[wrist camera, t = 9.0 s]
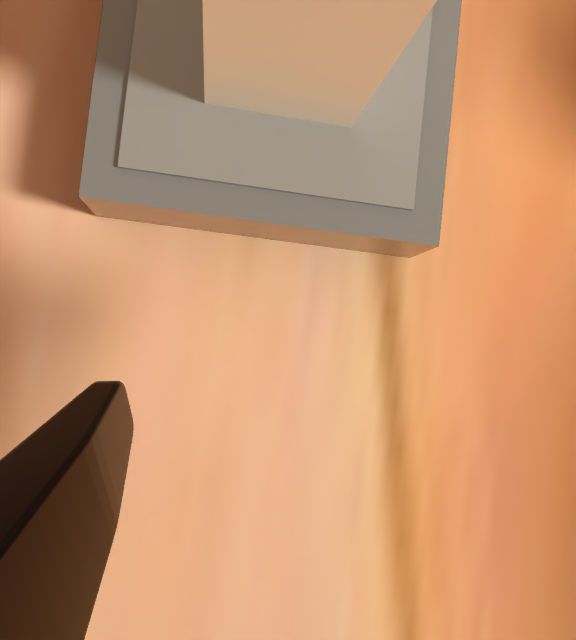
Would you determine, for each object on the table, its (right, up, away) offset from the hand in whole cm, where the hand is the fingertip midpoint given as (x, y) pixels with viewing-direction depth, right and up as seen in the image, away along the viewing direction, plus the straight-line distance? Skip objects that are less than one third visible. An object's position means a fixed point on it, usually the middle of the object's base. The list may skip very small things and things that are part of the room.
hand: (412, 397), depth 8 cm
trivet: (-2, +10, +11) cm, 14 cm away
